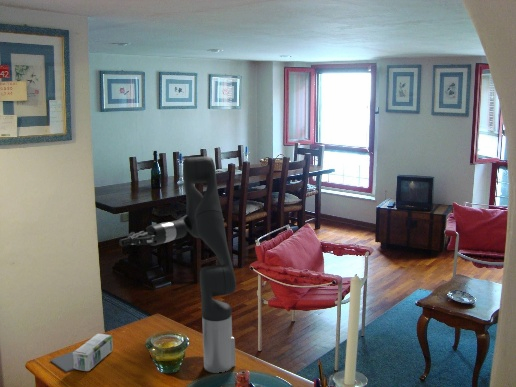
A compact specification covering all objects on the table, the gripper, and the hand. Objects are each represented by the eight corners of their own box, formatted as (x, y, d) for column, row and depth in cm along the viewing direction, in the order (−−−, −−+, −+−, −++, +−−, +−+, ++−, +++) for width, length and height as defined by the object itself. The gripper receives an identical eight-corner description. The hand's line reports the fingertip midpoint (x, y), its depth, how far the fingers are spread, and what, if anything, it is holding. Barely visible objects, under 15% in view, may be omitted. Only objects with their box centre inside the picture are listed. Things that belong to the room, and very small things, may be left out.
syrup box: (113, 350, 180) (89, 372, 166) (98, 348, 181) (72, 369, 168) (112, 335, 179) (88, 355, 165) (97, 332, 180) (71, 352, 167)
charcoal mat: (86, 347, 184) (86, 345, 183) (103, 357, 176) (103, 356, 176) (50, 361, 174) (50, 359, 174) (66, 372, 167) (66, 371, 167)
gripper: (149, 221, 201) (109, 229, 189) (171, 226, 192) (130, 235, 180) (151, 240, 202) (110, 250, 190) (172, 246, 193) (131, 257, 181)
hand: (120, 243), depth 185 cm, fingers closed
